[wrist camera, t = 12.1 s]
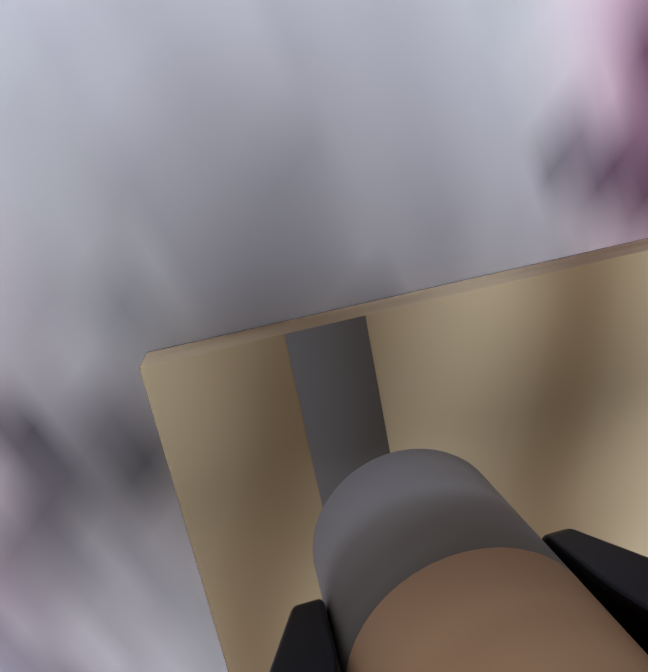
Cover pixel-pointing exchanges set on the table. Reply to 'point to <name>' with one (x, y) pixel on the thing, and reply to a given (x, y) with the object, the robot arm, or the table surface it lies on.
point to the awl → (452, 578)
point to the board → (407, 420)
